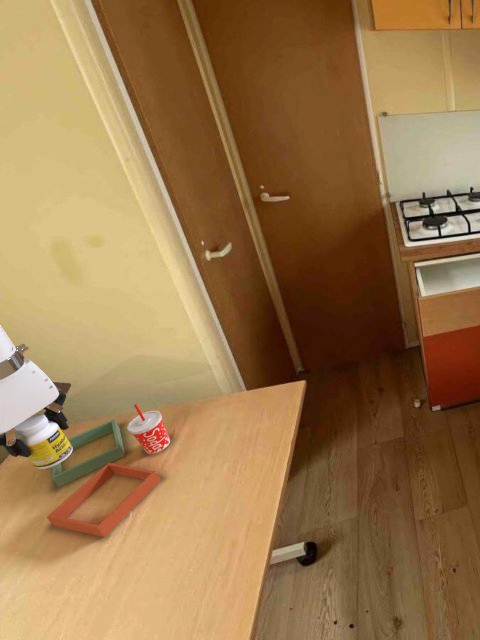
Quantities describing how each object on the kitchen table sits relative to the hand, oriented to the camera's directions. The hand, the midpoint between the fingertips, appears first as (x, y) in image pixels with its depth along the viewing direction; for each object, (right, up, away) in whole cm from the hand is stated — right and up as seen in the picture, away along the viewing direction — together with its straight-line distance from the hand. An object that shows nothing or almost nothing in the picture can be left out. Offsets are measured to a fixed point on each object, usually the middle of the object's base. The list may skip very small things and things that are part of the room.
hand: (42, 440), depth 80 cm
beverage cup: (+5, -11, +21) cm, 24 cm away
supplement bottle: (0, -5, +2) cm, 5 cm away
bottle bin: (-9, -12, +18) cm, 24 cm away
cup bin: (+5, -17, +9) cm, 20 cm away
